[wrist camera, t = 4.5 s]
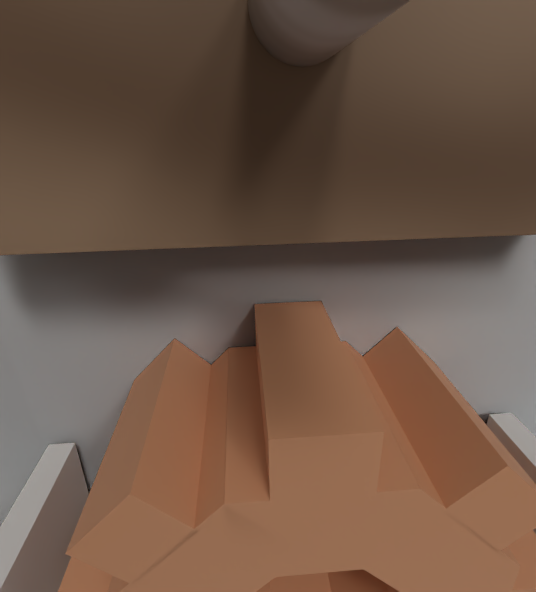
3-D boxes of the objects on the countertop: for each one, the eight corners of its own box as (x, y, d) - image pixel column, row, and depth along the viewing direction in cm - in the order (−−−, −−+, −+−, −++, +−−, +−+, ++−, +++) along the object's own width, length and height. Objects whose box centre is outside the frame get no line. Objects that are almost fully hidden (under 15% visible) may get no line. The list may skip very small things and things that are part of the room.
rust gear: (85, 312, 10) (-33, 460, 6) (478, 293, 11) (650, 413, 6) (143, 572, 15) (101, 777, 10) (424, 548, 15) (506, 730, 11)
